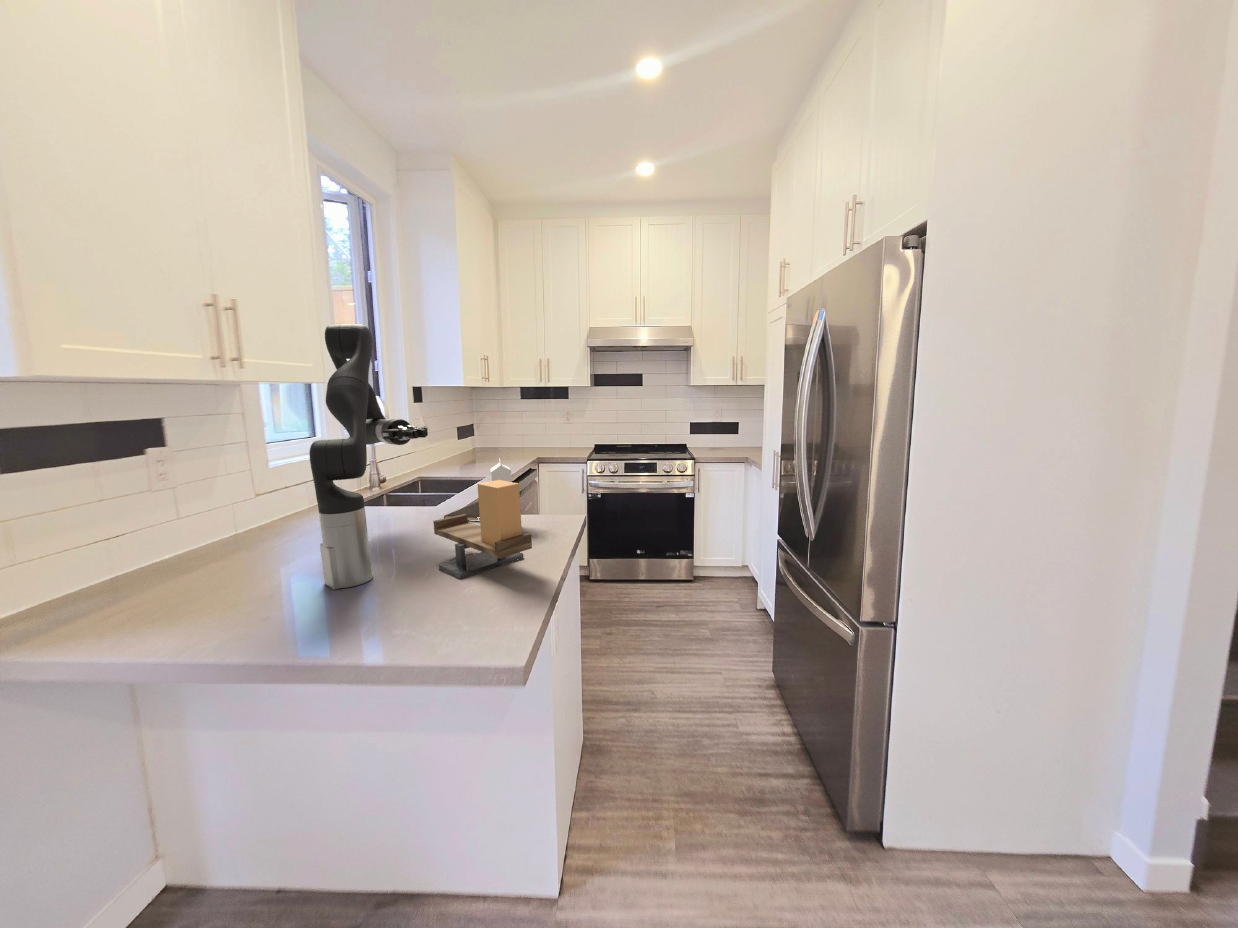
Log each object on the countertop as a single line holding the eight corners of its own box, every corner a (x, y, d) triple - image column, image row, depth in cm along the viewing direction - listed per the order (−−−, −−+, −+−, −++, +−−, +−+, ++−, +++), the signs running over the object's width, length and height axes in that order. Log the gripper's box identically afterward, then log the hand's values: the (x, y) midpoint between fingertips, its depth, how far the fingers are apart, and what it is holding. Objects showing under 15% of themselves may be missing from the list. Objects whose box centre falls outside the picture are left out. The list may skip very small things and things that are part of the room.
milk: (495, 532, 153) (489, 461, 149) (494, 527, 158) (488, 458, 155) (515, 530, 154) (510, 459, 151) (513, 524, 160) (508, 457, 156)
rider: (501, 547, 113) (497, 487, 111) (481, 541, 119) (477, 483, 117) (522, 541, 118) (519, 483, 116) (502, 535, 123) (499, 479, 121)
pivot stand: (523, 558, 128) (521, 533, 127) (460, 579, 115) (457, 552, 114) (501, 550, 135) (499, 527, 134) (439, 569, 122) (436, 543, 121)
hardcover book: (518, 507, 186) (518, 501, 186) (485, 524, 164) (484, 517, 164) (481, 505, 191) (480, 499, 190) (443, 521, 169) (443, 515, 169)
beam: (532, 551, 117) (531, 533, 117) (499, 562, 111) (498, 543, 110) (465, 529, 138) (464, 513, 137) (434, 537, 131) (433, 520, 130)
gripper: (367, 420, 141) (393, 421, 129) (415, 417, 151) (443, 418, 139) (370, 446, 142) (396, 450, 130) (417, 442, 152) (445, 445, 140)
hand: (420, 434), depth 135 cm, fingers closed
